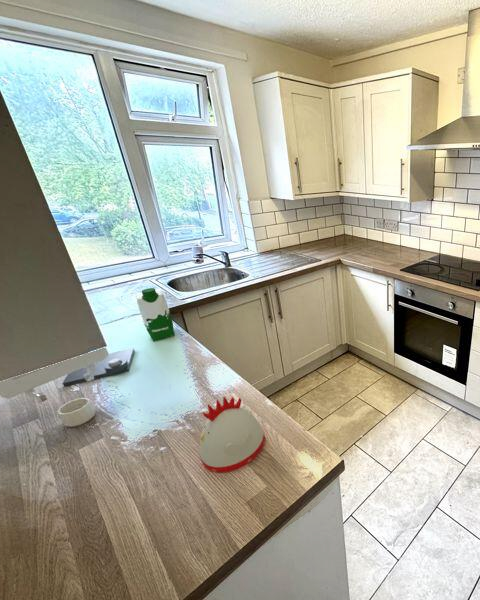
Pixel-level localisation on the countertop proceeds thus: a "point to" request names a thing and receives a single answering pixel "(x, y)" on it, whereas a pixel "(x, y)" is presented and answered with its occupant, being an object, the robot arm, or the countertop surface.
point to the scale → (103, 368)
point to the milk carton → (155, 313)
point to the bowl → (76, 412)
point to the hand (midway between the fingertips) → (67, 389)
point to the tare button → (114, 362)
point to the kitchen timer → (229, 437)
